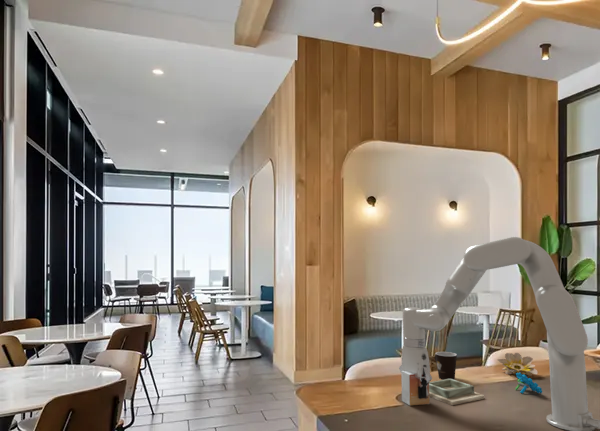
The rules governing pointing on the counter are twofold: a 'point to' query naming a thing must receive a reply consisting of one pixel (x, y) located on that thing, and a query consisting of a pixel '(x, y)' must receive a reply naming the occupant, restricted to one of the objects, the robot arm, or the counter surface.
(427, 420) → the counter surface
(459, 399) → the jig
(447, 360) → the coffee mug
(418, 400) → the small box
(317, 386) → the counter surface
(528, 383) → the gear
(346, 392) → the counter surface
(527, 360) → the decorative flower
